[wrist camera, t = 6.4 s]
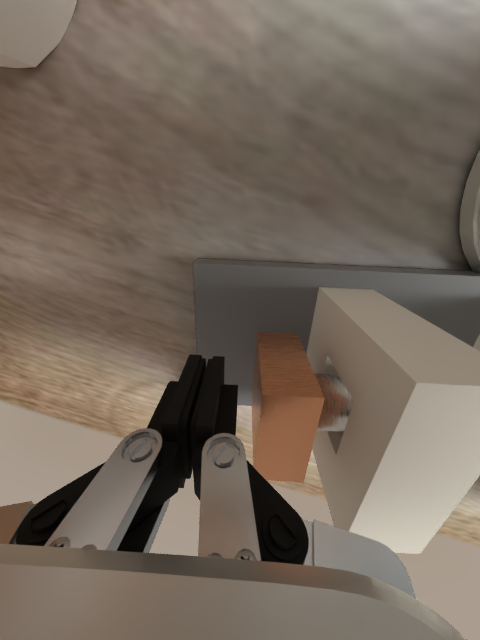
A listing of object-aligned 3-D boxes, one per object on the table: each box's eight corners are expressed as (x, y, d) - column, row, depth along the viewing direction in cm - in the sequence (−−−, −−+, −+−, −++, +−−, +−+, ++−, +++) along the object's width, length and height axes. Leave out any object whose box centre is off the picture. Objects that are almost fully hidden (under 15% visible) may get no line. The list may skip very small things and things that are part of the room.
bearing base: (202, 388, 18) (161, 550, 9) (198, 258, 14) (113, 330, 5) (518, 405, 18) (782, 588, 9) (611, 277, 13) (1276, 387, 5)
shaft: (251, 399, 13) (253, 479, 9) (257, 332, 11) (262, 395, 7) (602, 417, 13) (761, 507, 9) (665, 351, 11) (900, 428, 7)
